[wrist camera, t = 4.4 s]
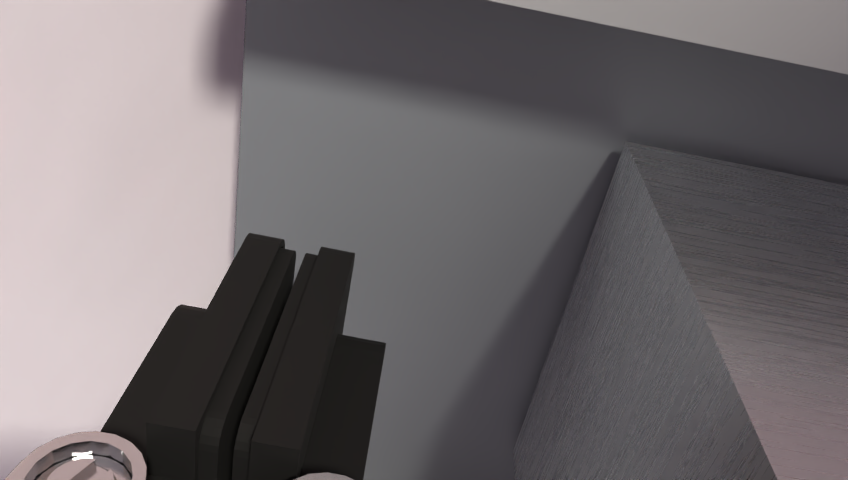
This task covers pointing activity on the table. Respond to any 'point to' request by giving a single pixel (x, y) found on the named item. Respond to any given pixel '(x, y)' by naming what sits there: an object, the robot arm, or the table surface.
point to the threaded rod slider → (700, 331)
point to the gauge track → (502, 170)
